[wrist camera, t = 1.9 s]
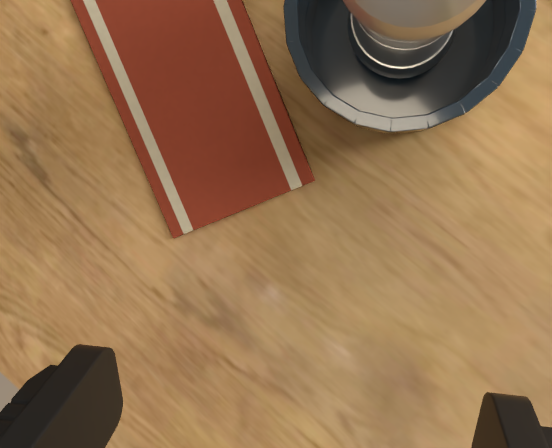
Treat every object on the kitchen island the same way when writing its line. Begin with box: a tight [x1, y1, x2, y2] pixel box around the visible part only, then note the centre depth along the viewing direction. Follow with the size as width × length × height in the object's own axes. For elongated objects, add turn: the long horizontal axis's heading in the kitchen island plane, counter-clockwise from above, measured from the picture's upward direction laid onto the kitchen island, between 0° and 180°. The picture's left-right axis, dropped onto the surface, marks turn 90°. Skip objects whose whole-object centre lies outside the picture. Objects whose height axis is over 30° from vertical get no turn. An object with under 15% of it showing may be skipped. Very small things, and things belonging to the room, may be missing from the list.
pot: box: [284, 0, 536, 134], centre depth 30 cm, size 13×13×6 cm
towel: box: [71, 0, 315, 238], centre depth 36 cm, size 20×12×1 cm, turn 23°
